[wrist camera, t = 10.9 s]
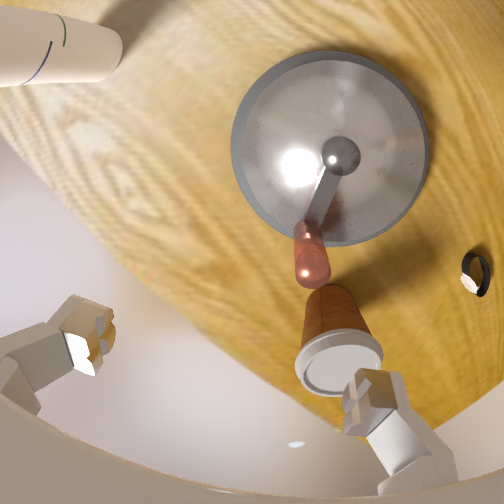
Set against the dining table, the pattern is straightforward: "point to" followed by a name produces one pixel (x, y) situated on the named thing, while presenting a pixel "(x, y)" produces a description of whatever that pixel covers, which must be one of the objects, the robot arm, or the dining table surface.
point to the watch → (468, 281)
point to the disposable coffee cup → (334, 343)
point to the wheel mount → (266, 81)
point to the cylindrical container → (54, 48)
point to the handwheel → (331, 157)
